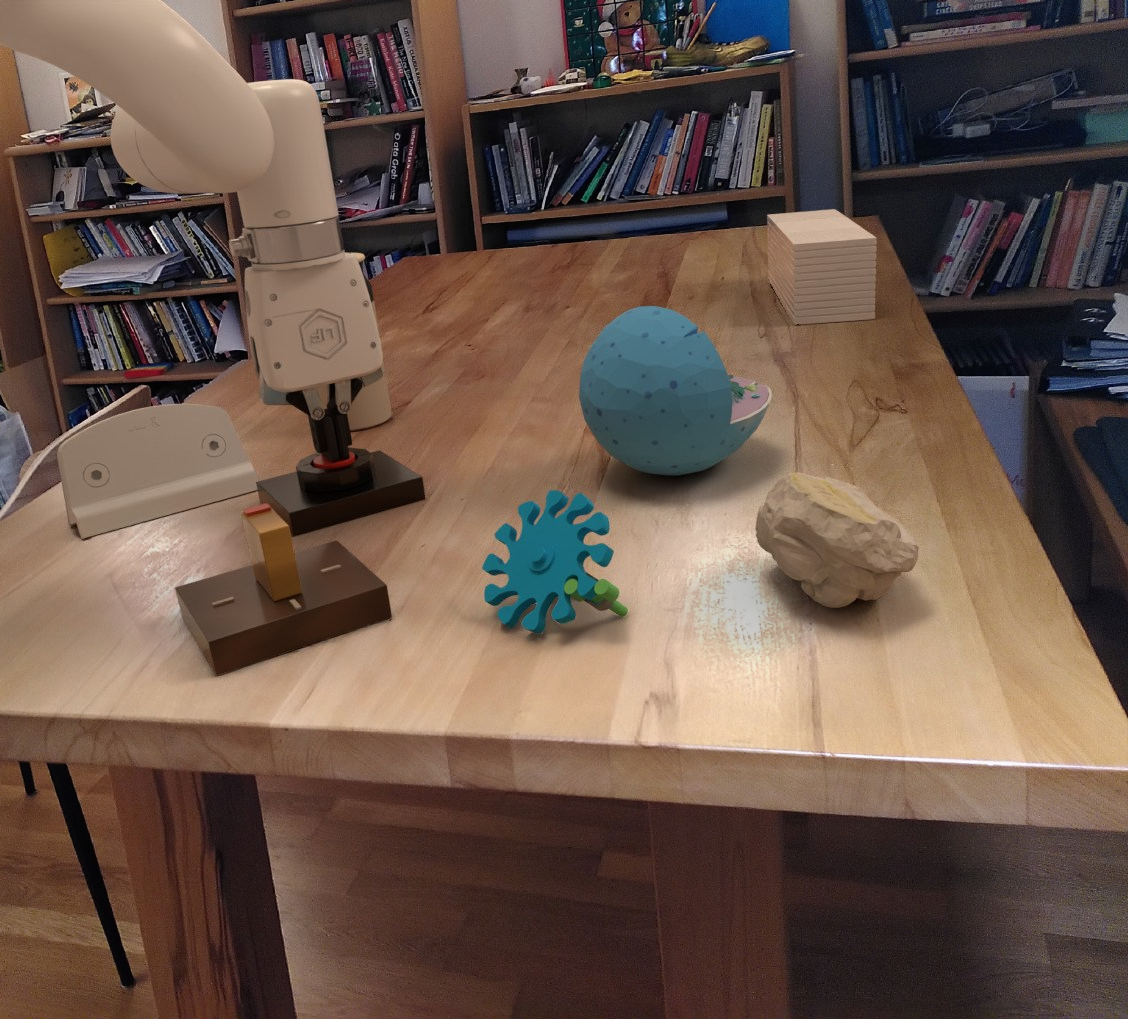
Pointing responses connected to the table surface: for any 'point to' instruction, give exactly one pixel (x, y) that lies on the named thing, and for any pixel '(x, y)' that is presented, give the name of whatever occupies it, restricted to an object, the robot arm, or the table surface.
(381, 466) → the alarm box
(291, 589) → the yellow block
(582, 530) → the gear
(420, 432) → the table surface
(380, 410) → the travel mug
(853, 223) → the grooved wooden block
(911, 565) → the beige rock
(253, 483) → the hinge
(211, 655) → the plate
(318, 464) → the button
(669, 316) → the educational model
